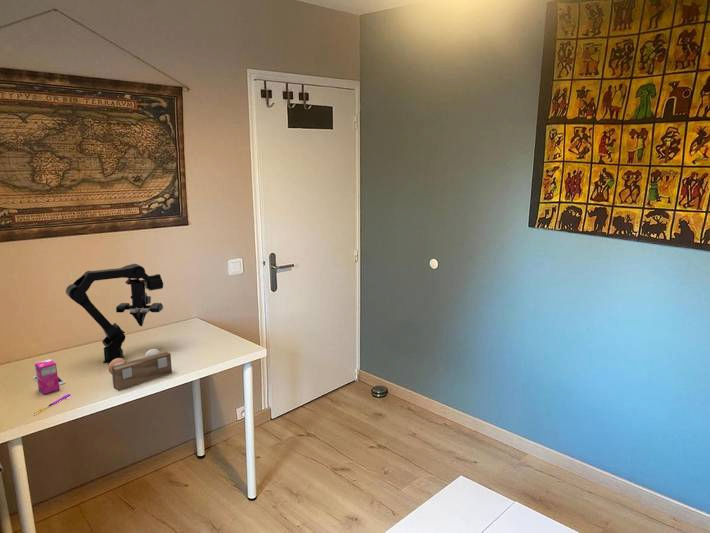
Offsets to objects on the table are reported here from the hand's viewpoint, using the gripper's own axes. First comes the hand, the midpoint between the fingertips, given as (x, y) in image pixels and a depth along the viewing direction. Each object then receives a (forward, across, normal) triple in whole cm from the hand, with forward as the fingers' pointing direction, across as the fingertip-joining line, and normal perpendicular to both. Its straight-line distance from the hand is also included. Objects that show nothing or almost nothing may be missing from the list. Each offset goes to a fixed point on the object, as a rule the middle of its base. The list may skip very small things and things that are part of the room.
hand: (141, 325), depth 227 cm
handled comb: (+14, +14, +49) cm, 53 cm away
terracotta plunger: (+10, -4, +32) cm, 34 cm away
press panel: (+13, -11, +29) cm, 33 cm away
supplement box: (+13, +22, +37) cm, 45 cm away
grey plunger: (+11, -14, +22) cm, 28 cm away
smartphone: (+14, +27, +28) cm, 41 cm away
